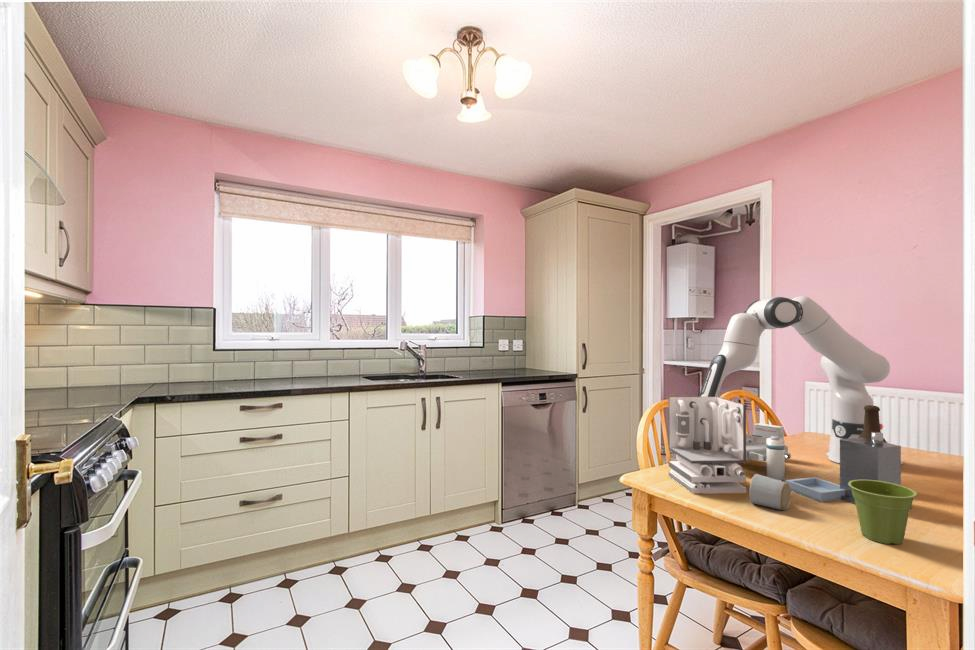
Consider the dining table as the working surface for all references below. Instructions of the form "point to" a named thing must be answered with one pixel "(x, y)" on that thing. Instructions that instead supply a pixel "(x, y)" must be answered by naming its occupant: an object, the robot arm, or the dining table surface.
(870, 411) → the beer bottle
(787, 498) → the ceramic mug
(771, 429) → the ink box
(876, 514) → the plant pot
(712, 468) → the pipe room model
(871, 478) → the block
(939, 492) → the dining table surface
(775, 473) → the cylinder
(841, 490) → the tray
